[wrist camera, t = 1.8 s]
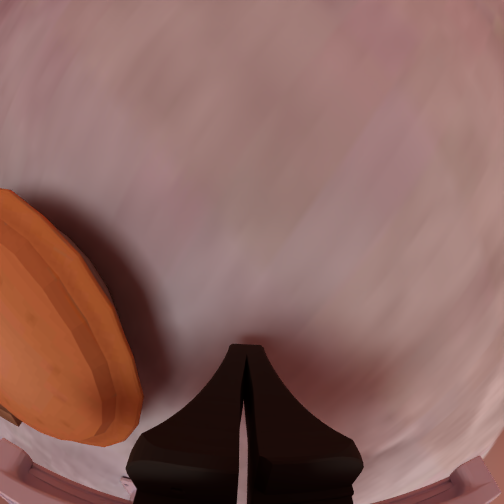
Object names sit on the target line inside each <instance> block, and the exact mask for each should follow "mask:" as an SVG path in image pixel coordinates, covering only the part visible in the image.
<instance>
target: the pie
mask: <svg viewBox="0 0 504 504" xmlns="http://www.w3.org/2000/svg"><path fill="white" fill-rule="evenodd" d="M143 399H144V395H143V391H142V387H141V384H140V380H139V376H138V372H137V368H136V364H135V360H134V356H133V354H132V351H131V349H130V346H129V344H128V342H127V339H126V337H125V334H124V332H123V329H122V326H121V322H120V318H119V315H118V313H117V311H116V308H115V306H114V303H113V301H112V298H111V295H110V293H109V290H108V288H107V286H106V285H105V283H104V282H103V280H102V279H101V277H100V275H99V274H98V272H97V271H96V269H95V267H94V266H93V264H92V262H91V261H90V259H89V258H88V257H87V256H86V255H85V254H84V253H83V252H82V251H81V250H80V249H79V248H78V247H77V246H76V245H75V243H74V242H73V241H72V240H71V239H70V238H69V237H68V236H66V235H65V234H64V233H62V232H61V231H59V230H58V229H57V228H55V227H54V225H53V224H52V223H51V222H50V221H49V220H48V219H47V218H46V217H45V216H43V215H42V214H41V213H39V212H38V211H37V210H36V209H34V208H33V207H32V206H30V205H29V204H28V203H27V202H25V201H24V200H23V199H22V198H20V197H19V196H18V195H17V194H15V193H14V192H13V191H12V190H8V189H2V188H0V404H1V405H2V406H3V407H5V408H6V409H7V410H8V411H9V412H11V413H12V414H13V415H14V416H16V417H17V418H18V419H19V420H21V421H22V422H24V423H26V424H27V425H29V426H31V427H32V428H34V429H36V430H37V431H39V432H41V433H44V434H46V435H49V436H52V437H55V438H57V439H60V440H69V441H75V442H78V443H82V444H88V445H94V446H101V447H106V446H110V445H113V444H116V443H119V442H122V441H125V440H126V439H127V438H128V437H129V435H130V434H131V433H132V432H133V430H134V429H135V428H136V427H137V426H138V424H139V419H140V414H141V408H142V403H143Z"/></svg>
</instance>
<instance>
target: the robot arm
mask: <svg viewBox="0 0 504 504" xmlns="http://www.w3.org/2000/svg"><path fill="white" fill-rule="evenodd" d="M243 401H244V407H245V418H246V428H247V438H248V477H247V504H353V500H352V495H353V494H354V491H353V487H352V484H353V482H354V481H355V480H356V479H357V477H358V476H359V474H360V473H361V472H362V470H363V467H364V466H363V461H362V458H361V455H360V453H359V451H358V449H357V447H356V445H355V443H354V441H353V440H352V439H350V438H348V437H346V436H344V435H342V434H340V433H339V432H337V431H335V430H333V429H332V428H330V427H329V426H327V425H326V424H324V423H323V422H321V421H320V420H319V419H317V418H316V417H315V416H314V415H312V414H311V413H310V412H309V411H308V410H307V409H306V408H304V407H303V406H302V405H301V404H300V403H299V402H298V401H297V399H296V398H295V397H294V396H293V395H292V394H291V393H290V392H289V390H288V389H287V388H286V386H285V385H284V384H283V382H282V381H281V380H280V378H279V377H278V375H277V373H276V372H275V370H274V369H273V367H272V365H271V363H270V362H269V360H268V358H267V356H266V353H265V351H264V348H263V347H262V346H261V345H245V344H231V345H230V346H229V350H228V352H227V354H226V356H225V358H224V360H223V362H222V363H221V365H220V367H219V368H218V370H217V371H216V373H215V374H214V376H213V377H212V378H211V380H210V381H209V382H208V383H207V385H206V386H205V387H204V388H203V389H202V390H201V392H200V393H199V394H198V395H197V396H196V397H195V398H194V399H193V400H192V401H190V402H189V403H188V404H187V405H186V406H185V407H184V408H182V409H181V410H180V411H179V412H177V413H176V414H174V415H173V416H172V417H170V418H169V419H167V420H166V421H164V422H163V423H161V424H159V425H157V426H155V427H154V428H152V429H150V430H148V431H146V432H144V433H142V434H141V435H140V437H139V438H138V440H137V441H136V443H135V445H134V447H133V449H132V451H131V453H130V456H129V459H128V462H127V466H126V471H127V474H128V476H129V477H130V479H127V478H121V479H120V481H121V483H122V484H123V486H124V487H125V489H126V490H127V492H128V493H129V494H130V496H131V497H130V500H125V499H122V498H119V497H115V496H112V495H109V494H106V493H103V492H100V491H97V490H94V489H92V488H89V487H86V486H84V485H81V484H79V483H76V482H74V481H72V480H69V479H67V478H65V477H62V476H60V475H58V474H56V473H54V472H52V471H50V470H48V469H46V468H44V467H42V466H40V465H38V464H36V463H34V462H33V461H32V459H31V458H30V456H29V455H28V454H27V453H26V452H25V451H24V450H22V449H21V448H19V447H18V446H16V445H14V444H13V443H11V442H9V441H8V440H6V439H5V438H2V439H1V441H0V496H1V497H2V498H3V499H5V500H6V501H7V502H8V503H9V504H237V490H238V476H239V429H240V422H241V415H242V408H243ZM500 493H501V491H500V489H499V487H498V485H497V484H496V482H495V480H494V478H493V477H492V475H491V473H490V472H489V470H488V468H487V466H486V465H485V463H484V461H483V460H482V458H481V456H477V457H475V458H474V459H472V460H470V461H468V462H466V463H464V464H462V465H460V466H459V467H458V468H456V469H455V470H454V471H453V472H452V473H451V475H450V476H449V477H447V478H445V479H443V480H440V481H438V482H435V483H433V484H431V485H428V486H425V487H423V488H420V489H417V490H415V491H412V492H409V493H406V494H403V495H400V496H397V497H393V498H390V499H387V500H383V501H379V502H376V503H372V504H489V503H490V502H492V501H493V500H494V499H495V498H496V497H498V496H499V495H500Z"/></svg>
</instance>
